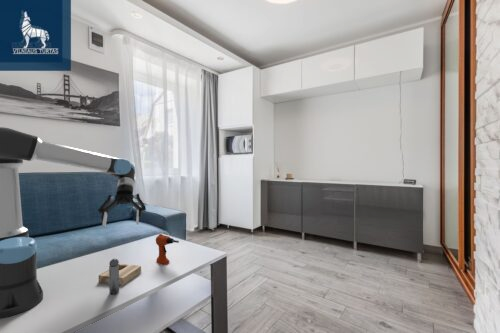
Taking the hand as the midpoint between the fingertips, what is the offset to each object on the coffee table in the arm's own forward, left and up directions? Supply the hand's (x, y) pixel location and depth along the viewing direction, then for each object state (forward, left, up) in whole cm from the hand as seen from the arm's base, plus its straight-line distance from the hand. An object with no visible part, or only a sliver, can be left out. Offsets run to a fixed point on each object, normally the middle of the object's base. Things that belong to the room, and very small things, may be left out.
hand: (120, 224), depth 108 cm
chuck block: (+1, -2, -23) cm, 23 cm away
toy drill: (+15, +14, -24) cm, 32 cm away
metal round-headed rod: (+8, -14, -23) cm, 28 cm away
